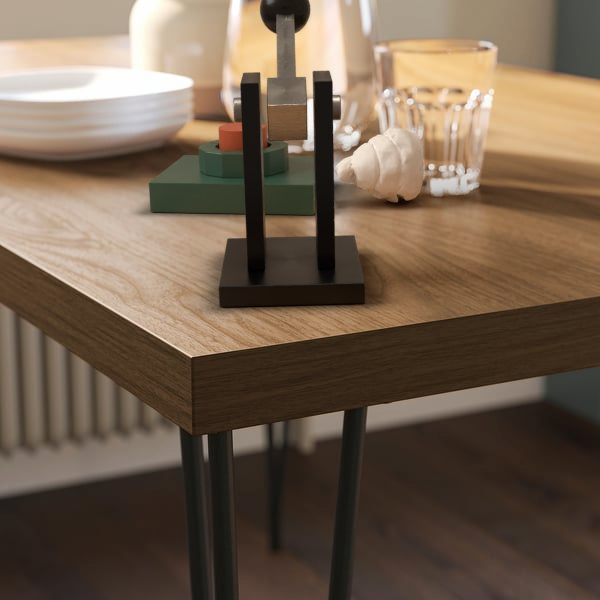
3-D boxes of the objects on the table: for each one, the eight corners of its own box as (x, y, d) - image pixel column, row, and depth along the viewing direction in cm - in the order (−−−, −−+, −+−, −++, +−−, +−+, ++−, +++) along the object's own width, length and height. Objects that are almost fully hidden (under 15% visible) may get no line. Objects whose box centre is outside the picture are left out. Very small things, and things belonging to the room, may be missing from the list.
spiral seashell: (327, 197, 89) (326, 125, 87) (403, 191, 90) (404, 120, 88) (345, 214, 84) (344, 138, 82) (426, 208, 85) (426, 133, 83)
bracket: (228, 256, 74) (219, 67, 70) (354, 253, 74) (353, 63, 70) (219, 307, 65) (209, 91, 61) (365, 303, 65) (363, 87, 61)
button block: (332, 183, 93) (332, 133, 92) (313, 215, 84) (312, 159, 82) (185, 181, 95) (182, 132, 94) (150, 212, 85) (146, 158, 84)
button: (271, 145, 89) (270, 122, 89) (262, 154, 86) (261, 130, 86) (225, 144, 90) (224, 122, 89) (214, 154, 87) (213, 130, 86)
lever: (260, 19, 76) (258, -26, 74) (310, 18, 76) (309, -27, 74) (259, 147, 66) (257, 99, 64) (316, 146, 66) (316, 98, 64)
